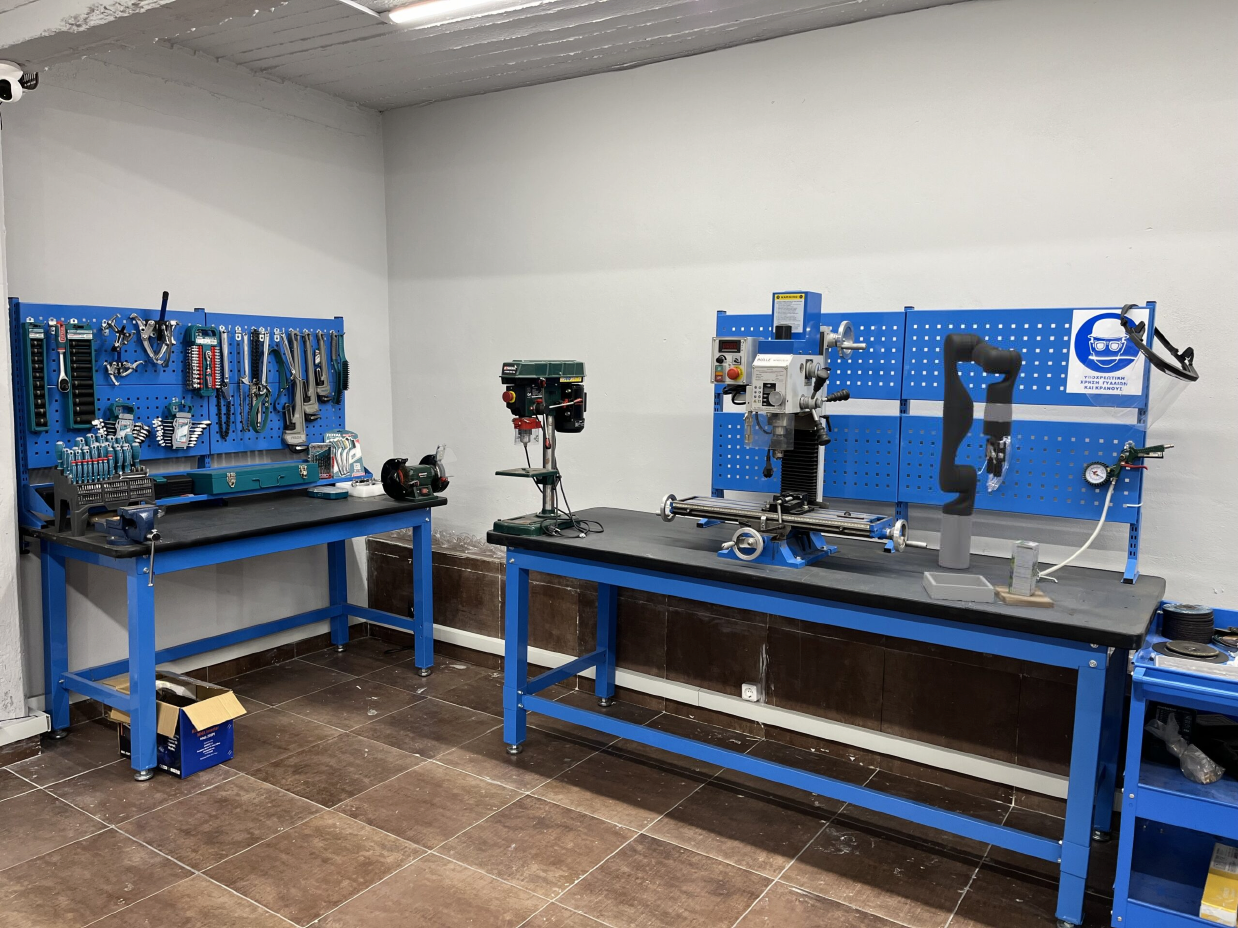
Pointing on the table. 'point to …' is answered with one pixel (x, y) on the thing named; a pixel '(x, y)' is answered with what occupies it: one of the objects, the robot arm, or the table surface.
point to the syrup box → (1023, 568)
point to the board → (1023, 598)
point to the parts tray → (958, 587)
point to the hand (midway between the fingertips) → (993, 475)
